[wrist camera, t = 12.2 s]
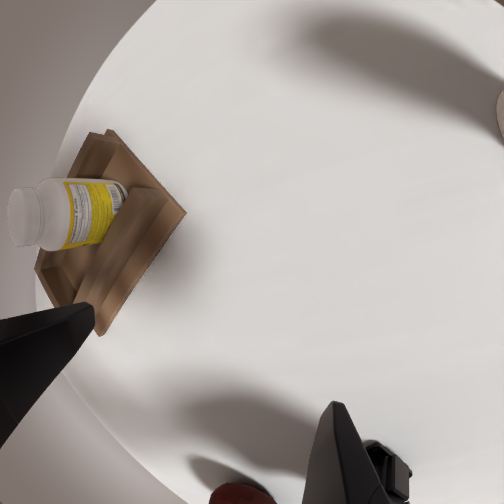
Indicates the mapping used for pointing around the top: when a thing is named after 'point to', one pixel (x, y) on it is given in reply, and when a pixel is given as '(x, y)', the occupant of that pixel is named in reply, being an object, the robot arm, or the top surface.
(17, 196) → the supplement bottle
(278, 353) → the top surface
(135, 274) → the walnut rail track
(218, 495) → the potato
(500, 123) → the beer glass
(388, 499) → the robot arm
